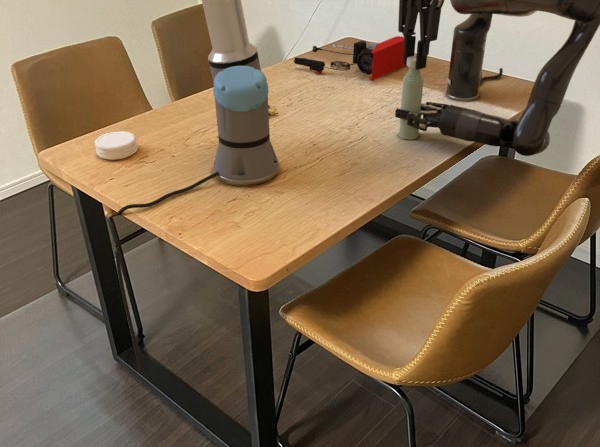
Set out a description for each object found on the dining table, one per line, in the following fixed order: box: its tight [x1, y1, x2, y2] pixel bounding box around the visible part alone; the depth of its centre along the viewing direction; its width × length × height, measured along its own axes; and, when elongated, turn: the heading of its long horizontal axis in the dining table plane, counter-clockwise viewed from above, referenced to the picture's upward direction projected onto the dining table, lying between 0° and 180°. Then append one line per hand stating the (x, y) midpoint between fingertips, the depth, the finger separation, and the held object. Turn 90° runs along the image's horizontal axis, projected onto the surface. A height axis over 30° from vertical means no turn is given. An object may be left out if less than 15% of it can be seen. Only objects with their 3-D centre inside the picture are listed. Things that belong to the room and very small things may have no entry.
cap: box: [406, 55, 417, 68], centre depth 151 cm, size 4×4×2 cm
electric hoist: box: [293, 35, 406, 82], centre depth 207 cm, size 10×27×30 cm
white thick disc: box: [94, 130, 139, 161], centre depth 154 cm, size 10×10×4 cm
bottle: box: [398, 67, 424, 141], centre depth 156 cm, size 5×5×20 cm
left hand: (414, 65), depth 152 cm, fingers closed on cap, 4 cm apart
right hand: (401, 109), depth 159 cm, fingers closed on bottle, 5 cm apart
